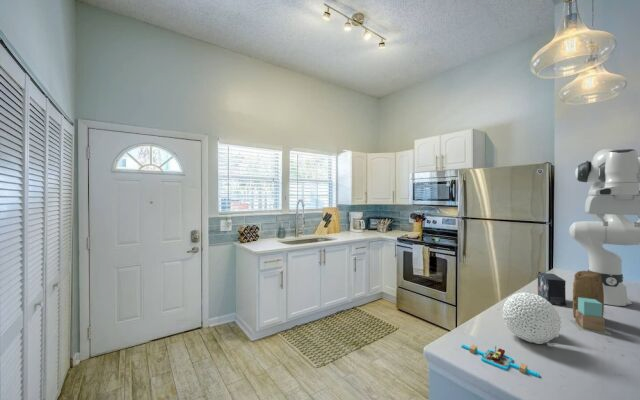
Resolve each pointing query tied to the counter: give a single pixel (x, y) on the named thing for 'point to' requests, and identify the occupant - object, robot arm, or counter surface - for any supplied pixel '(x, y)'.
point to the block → (587, 288)
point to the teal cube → (590, 307)
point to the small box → (552, 288)
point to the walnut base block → (590, 322)
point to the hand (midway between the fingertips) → (621, 226)
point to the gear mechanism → (497, 358)
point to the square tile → (589, 330)
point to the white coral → (531, 317)
